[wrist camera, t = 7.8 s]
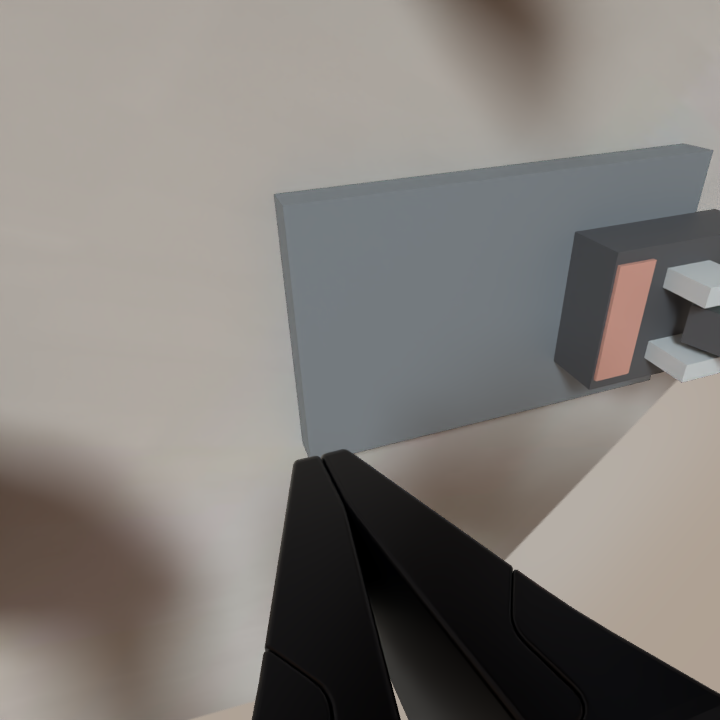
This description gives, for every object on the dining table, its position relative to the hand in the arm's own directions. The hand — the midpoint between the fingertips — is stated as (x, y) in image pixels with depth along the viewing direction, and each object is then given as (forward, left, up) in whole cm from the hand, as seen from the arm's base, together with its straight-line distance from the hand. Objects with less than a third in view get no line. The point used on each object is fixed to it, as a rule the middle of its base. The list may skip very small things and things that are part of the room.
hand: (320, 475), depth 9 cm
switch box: (+9, -7, -13) cm, 18 cm away
